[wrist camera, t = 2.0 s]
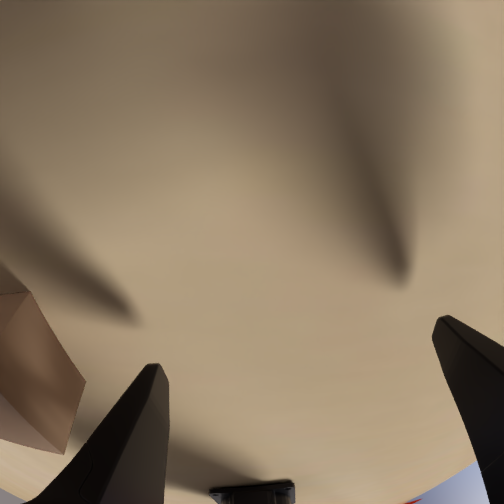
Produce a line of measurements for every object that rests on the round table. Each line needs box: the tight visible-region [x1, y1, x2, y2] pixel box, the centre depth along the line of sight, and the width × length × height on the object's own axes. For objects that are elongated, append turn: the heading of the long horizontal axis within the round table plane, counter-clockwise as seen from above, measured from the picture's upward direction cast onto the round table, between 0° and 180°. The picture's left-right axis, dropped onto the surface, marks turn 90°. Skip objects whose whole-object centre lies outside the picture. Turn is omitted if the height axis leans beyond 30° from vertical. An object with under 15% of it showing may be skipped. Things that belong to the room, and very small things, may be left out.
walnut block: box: [0, 291, 86, 455], centre depth 9 cm, size 5×5×4 cm
